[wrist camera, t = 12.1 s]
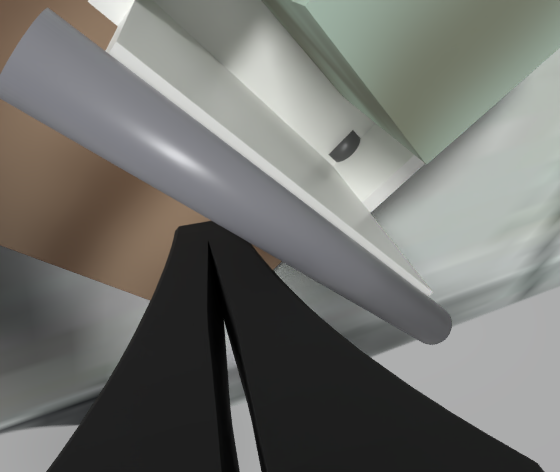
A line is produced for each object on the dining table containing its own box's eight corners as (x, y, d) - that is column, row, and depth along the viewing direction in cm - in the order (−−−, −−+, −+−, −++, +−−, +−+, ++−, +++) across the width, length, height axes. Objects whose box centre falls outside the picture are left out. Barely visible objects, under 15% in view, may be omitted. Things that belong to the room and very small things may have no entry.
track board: (-123, 189, 12) (-133, 198, 11) (569, -1252, 4) (612, -1379, 4) (213, 317, 20) (215, 324, 20) (652, -99, 12) (669, -101, 12)
